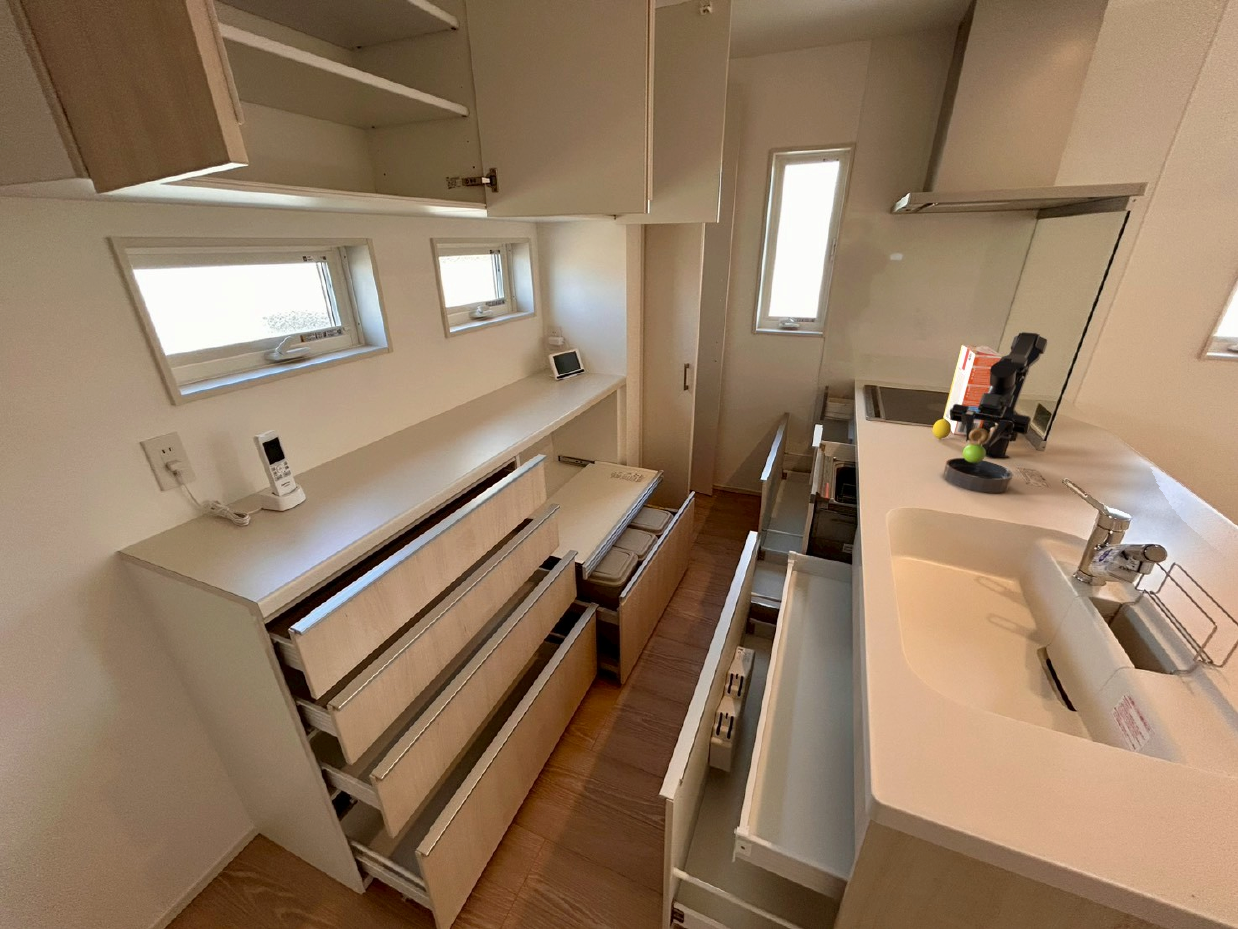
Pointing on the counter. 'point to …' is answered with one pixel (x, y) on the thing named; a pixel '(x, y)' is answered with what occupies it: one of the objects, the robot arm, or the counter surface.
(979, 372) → the red and white box
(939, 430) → the lemon
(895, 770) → the counter surface
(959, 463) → the pan
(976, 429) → the snail figurine
